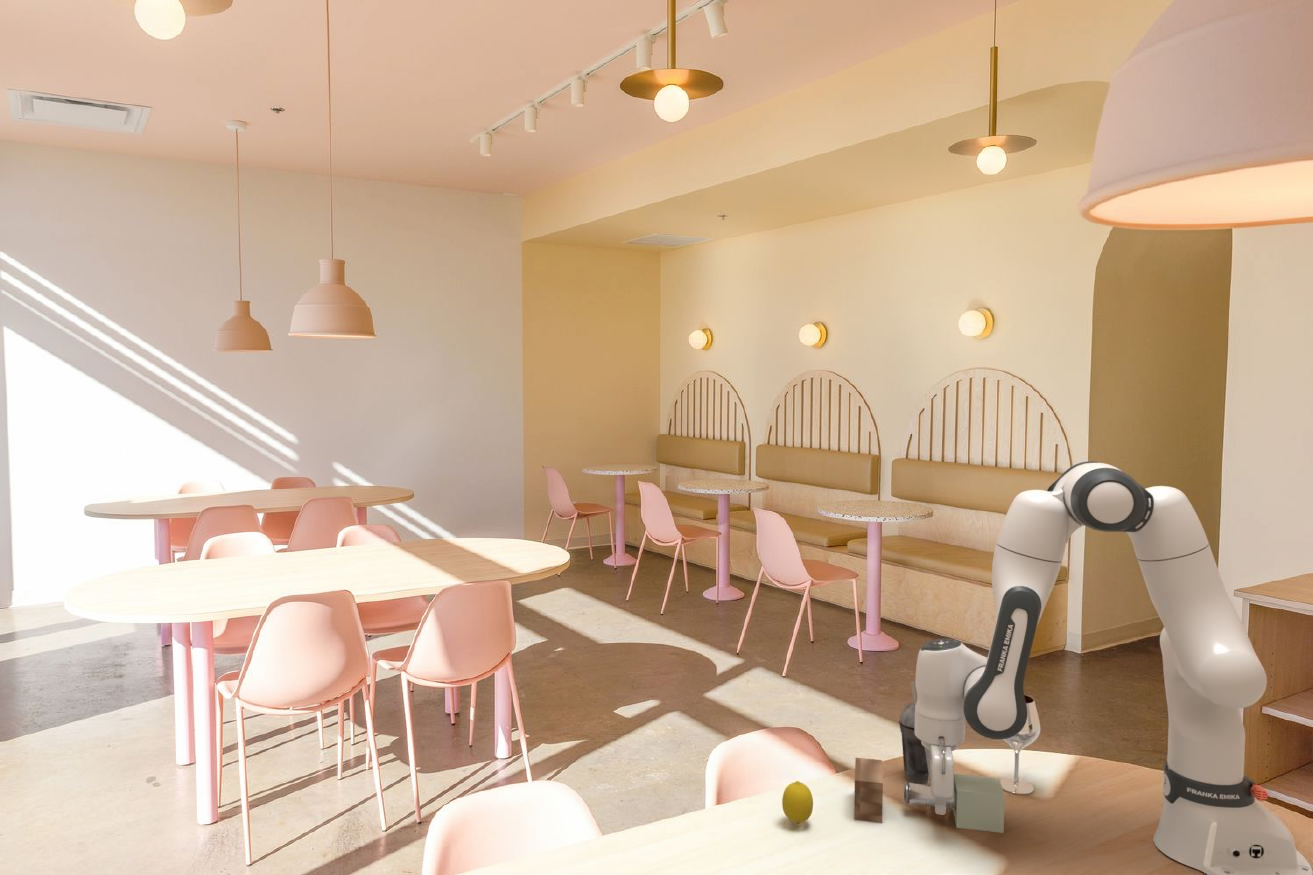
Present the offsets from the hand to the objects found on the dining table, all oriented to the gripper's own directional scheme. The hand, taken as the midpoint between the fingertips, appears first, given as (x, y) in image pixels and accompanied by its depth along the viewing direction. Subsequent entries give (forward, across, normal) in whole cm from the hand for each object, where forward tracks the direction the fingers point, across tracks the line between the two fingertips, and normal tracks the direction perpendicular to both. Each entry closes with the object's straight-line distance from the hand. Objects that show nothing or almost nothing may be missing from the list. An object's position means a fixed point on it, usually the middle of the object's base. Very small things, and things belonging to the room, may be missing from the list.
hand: (938, 800), depth 162 cm
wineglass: (+3, +16, -16) cm, 23 cm away
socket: (+3, 0, +12) cm, 13 cm away
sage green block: (+3, 0, -7) cm, 8 cm away
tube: (+1, 0, -2) cm, 2 cm away
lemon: (+3, -9, +25) cm, 27 cm away
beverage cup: (+3, +15, +3) cm, 16 cm away
